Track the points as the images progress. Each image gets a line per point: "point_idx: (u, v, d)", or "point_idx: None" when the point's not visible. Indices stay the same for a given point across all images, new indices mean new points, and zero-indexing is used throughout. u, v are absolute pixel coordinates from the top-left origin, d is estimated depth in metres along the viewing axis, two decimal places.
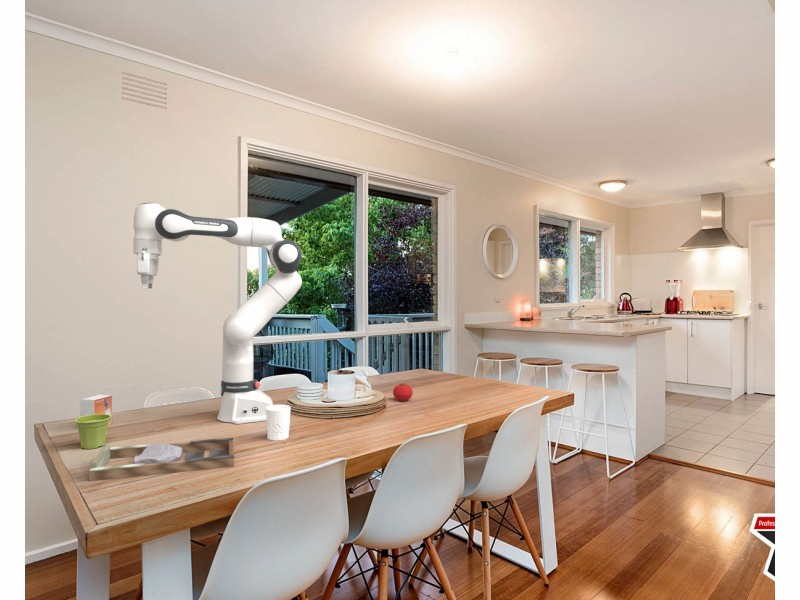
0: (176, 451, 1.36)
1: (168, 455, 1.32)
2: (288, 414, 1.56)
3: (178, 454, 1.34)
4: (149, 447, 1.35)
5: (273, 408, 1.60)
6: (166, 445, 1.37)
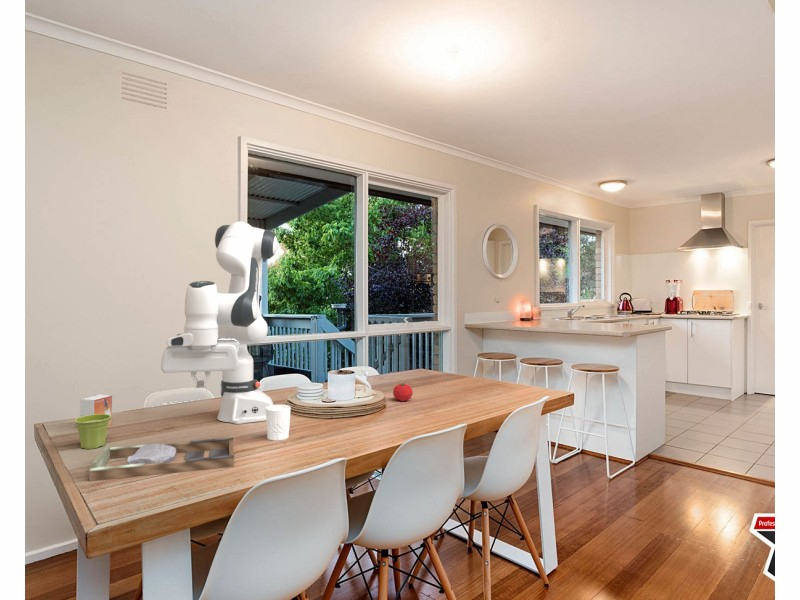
0: (170, 450, 1.35)
1: (162, 455, 1.32)
2: (288, 414, 1.56)
3: (172, 454, 1.34)
4: (143, 447, 1.35)
5: (273, 408, 1.60)
6: (160, 445, 1.37)
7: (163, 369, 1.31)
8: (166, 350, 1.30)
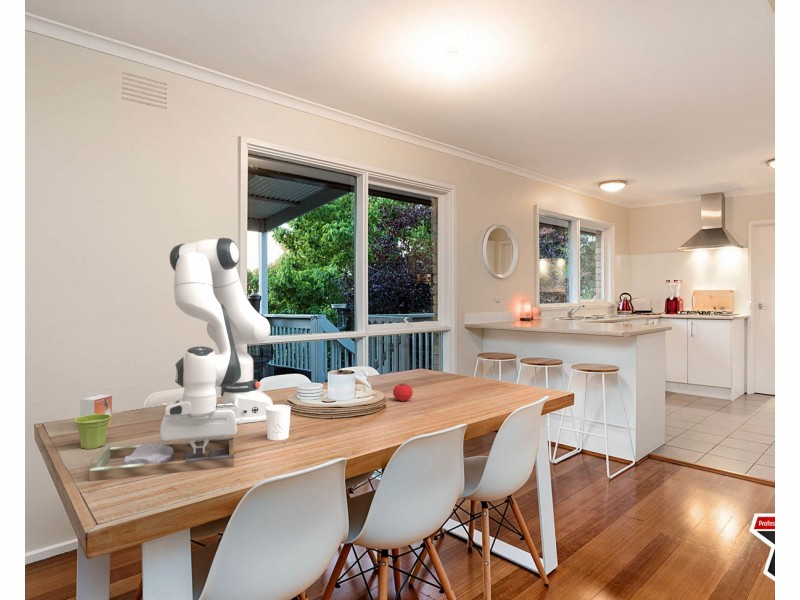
0: (167, 450, 1.35)
1: (159, 455, 1.32)
2: (288, 414, 1.56)
3: (169, 454, 1.34)
4: (140, 447, 1.34)
5: (273, 408, 1.60)
6: (157, 445, 1.37)
7: (162, 438, 1.31)
8: (165, 419, 1.31)
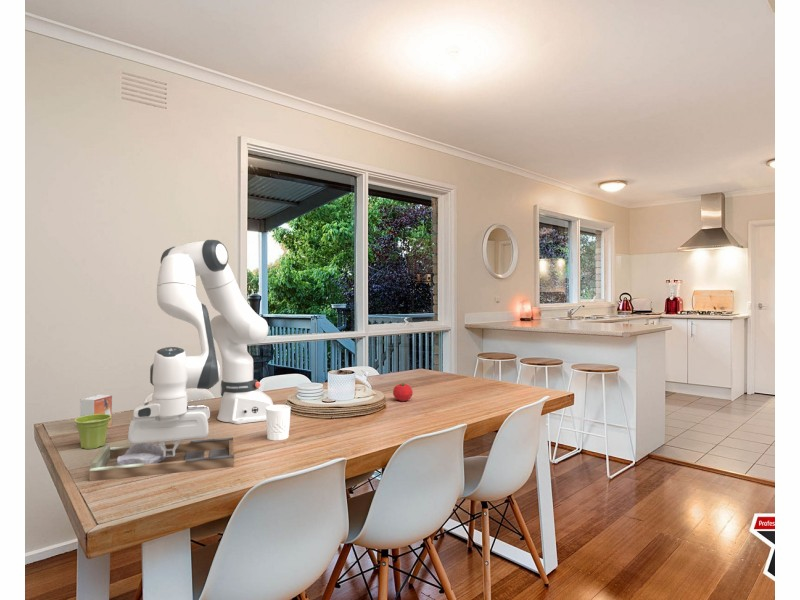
0: (160, 450, 1.35)
1: (152, 455, 1.31)
2: (288, 414, 1.56)
3: (162, 454, 1.34)
4: (132, 447, 1.34)
5: (273, 408, 1.60)
6: (150, 445, 1.36)
7: (130, 440, 1.28)
8: (133, 421, 1.28)
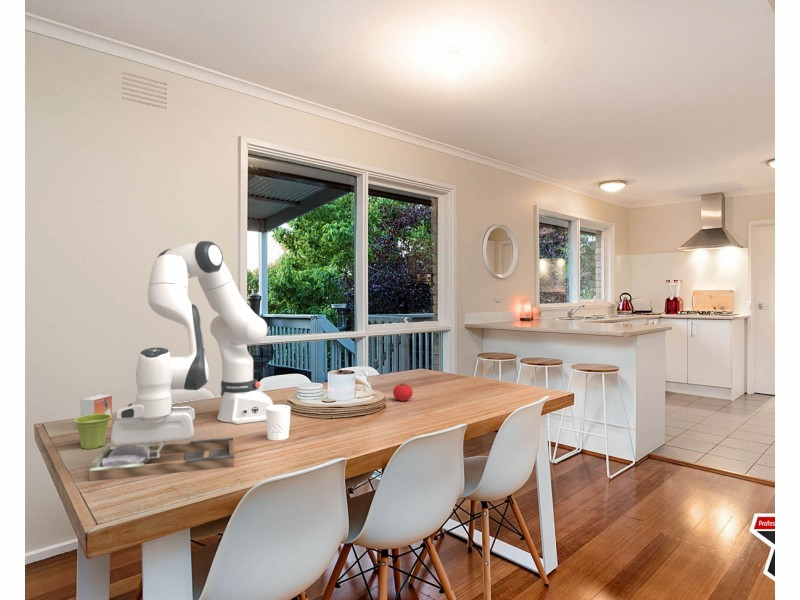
0: (145, 451, 1.34)
1: (137, 456, 1.31)
2: (288, 414, 1.56)
3: None
4: (116, 449, 1.33)
5: (273, 408, 1.60)
6: (133, 446, 1.35)
7: (113, 442, 1.27)
8: (116, 422, 1.27)
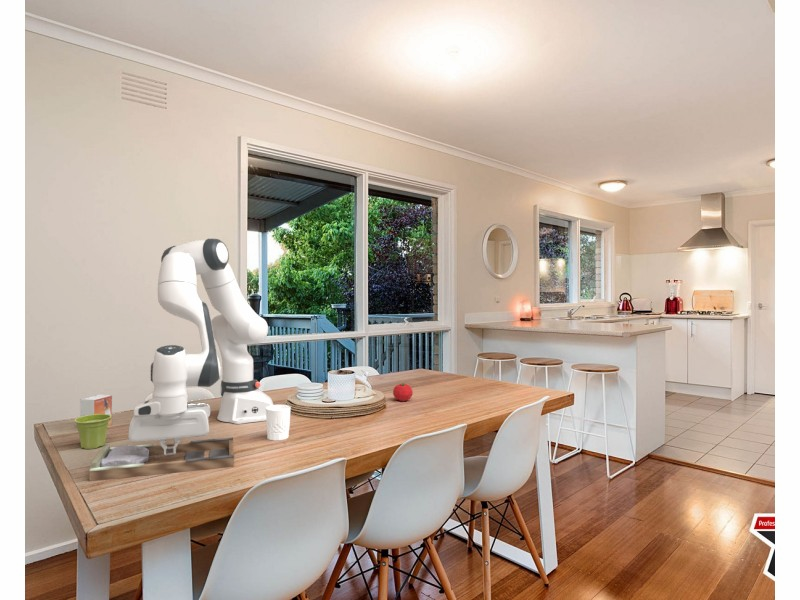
0: (144, 452, 1.34)
1: (136, 456, 1.31)
2: (288, 414, 1.56)
3: (146, 455, 1.33)
4: (114, 449, 1.32)
5: (273, 408, 1.60)
6: (132, 447, 1.35)
7: (131, 438, 1.29)
8: (133, 419, 1.28)
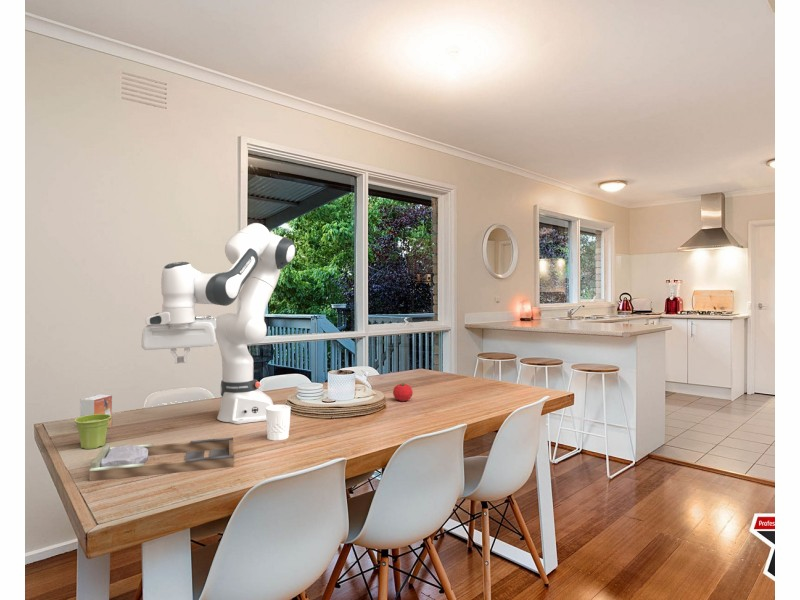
0: (143, 451, 1.34)
1: (136, 456, 1.31)
2: (288, 414, 1.56)
3: (145, 454, 1.34)
4: (113, 449, 1.32)
5: (273, 408, 1.60)
6: (131, 446, 1.35)
7: (144, 346, 1.38)
8: (145, 328, 1.38)
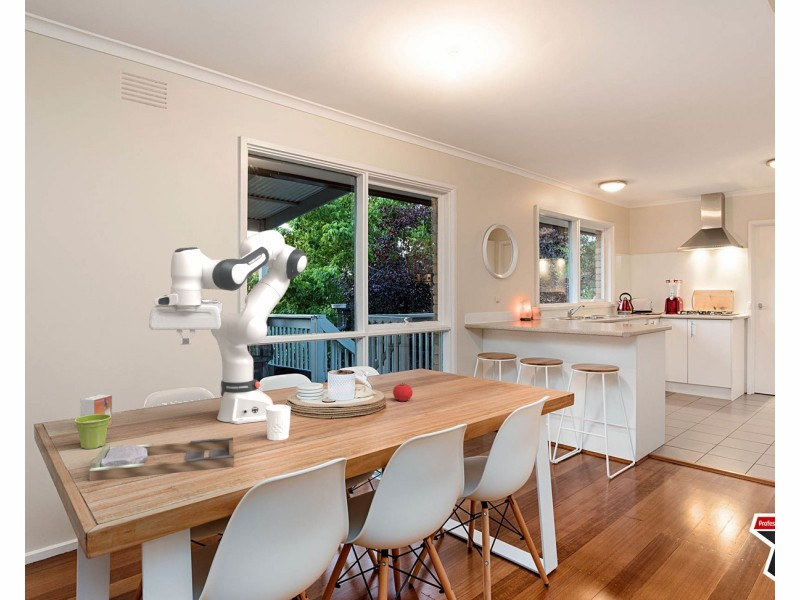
0: (142, 451, 1.35)
1: (136, 456, 1.31)
2: (288, 414, 1.56)
3: (145, 454, 1.34)
4: (112, 449, 1.32)
5: (273, 408, 1.60)
6: (130, 446, 1.35)
7: (151, 326, 1.43)
8: (154, 309, 1.43)
